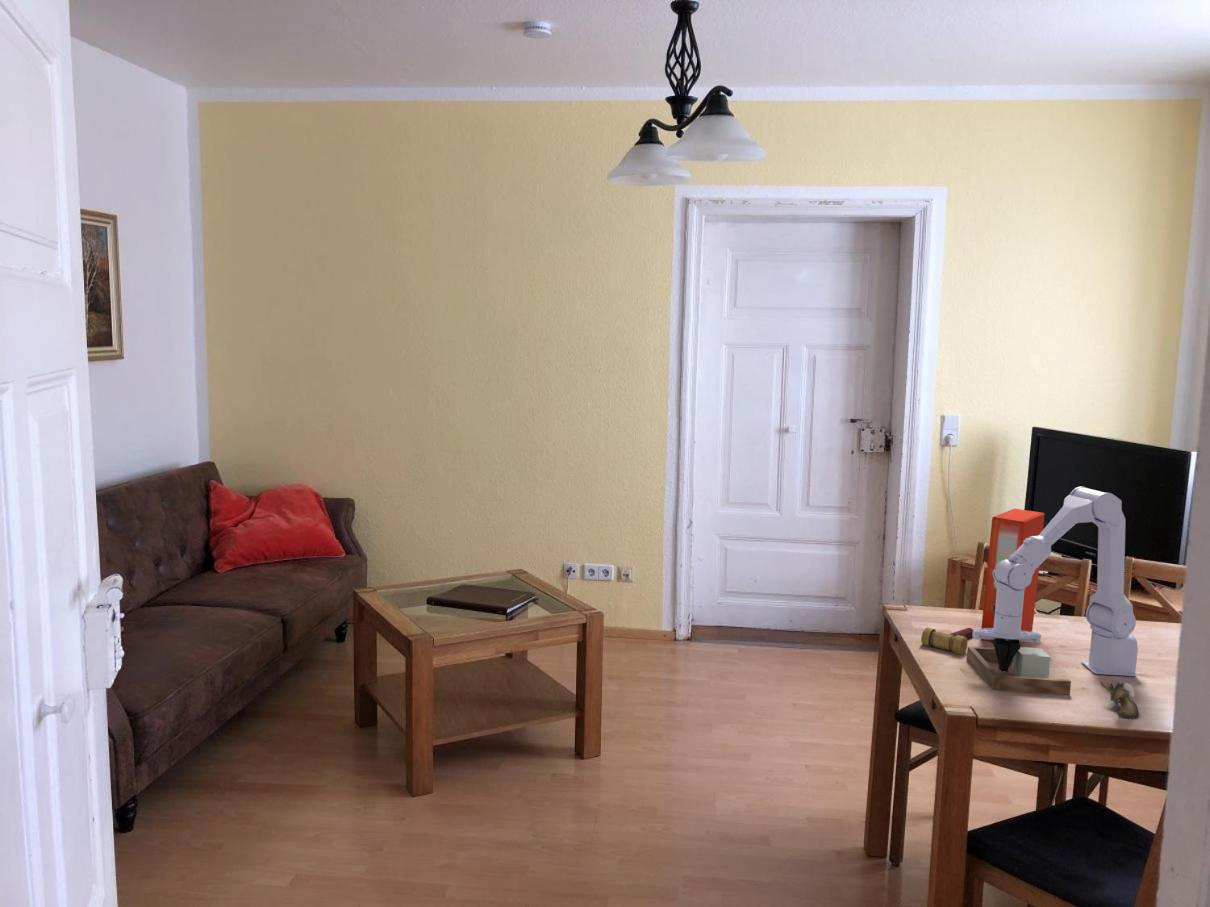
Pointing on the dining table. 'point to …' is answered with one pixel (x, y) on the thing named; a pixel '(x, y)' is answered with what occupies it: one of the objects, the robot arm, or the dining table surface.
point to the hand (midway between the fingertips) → (1003, 670)
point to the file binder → (1003, 543)
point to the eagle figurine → (1123, 700)
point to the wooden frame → (1012, 683)
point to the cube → (1031, 663)
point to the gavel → (947, 639)
